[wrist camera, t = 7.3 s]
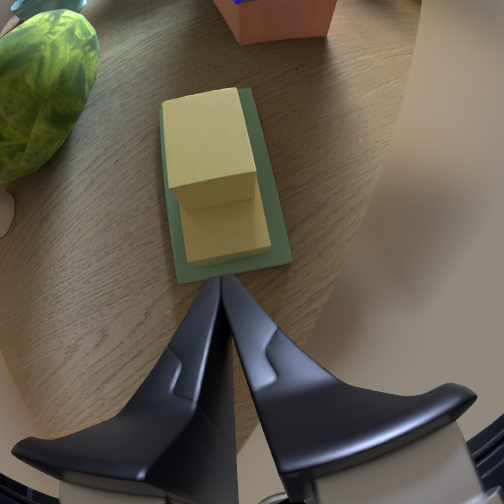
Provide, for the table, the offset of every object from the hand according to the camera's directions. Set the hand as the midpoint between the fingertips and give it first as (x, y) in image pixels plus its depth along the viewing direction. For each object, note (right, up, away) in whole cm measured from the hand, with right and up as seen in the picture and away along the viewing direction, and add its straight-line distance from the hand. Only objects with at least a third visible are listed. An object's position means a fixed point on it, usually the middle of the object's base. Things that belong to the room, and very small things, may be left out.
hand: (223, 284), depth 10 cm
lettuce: (-22, +18, +15) cm, 33 cm away
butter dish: (-2, +8, +14) cm, 16 cm away
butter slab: (-2, +7, +9) cm, 12 cm away
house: (+2, +36, +18) cm, 40 cm away
